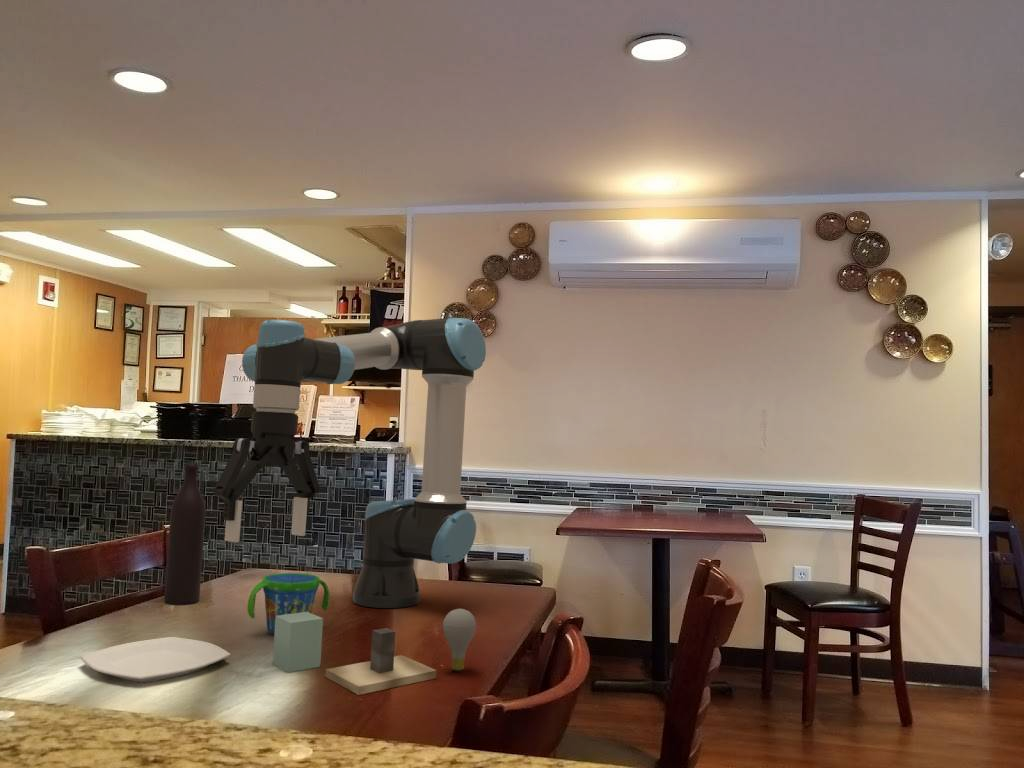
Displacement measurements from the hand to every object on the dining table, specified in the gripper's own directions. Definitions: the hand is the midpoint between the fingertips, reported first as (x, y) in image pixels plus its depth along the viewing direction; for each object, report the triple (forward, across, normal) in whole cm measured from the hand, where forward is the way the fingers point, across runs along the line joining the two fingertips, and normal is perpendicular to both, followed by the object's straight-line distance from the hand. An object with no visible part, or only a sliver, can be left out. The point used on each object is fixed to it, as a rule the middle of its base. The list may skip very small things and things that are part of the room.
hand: (266, 538), depth 127 cm
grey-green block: (+20, -2, +7) cm, 21 cm away
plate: (+21, +12, -10) cm, 26 cm away
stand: (+20, -7, +21) cm, 30 cm away
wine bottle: (+20, -17, -46) cm, 53 cm away
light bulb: (+20, -17, +28) cm, 39 cm away
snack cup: (+20, -15, -10) cm, 27 cm away
